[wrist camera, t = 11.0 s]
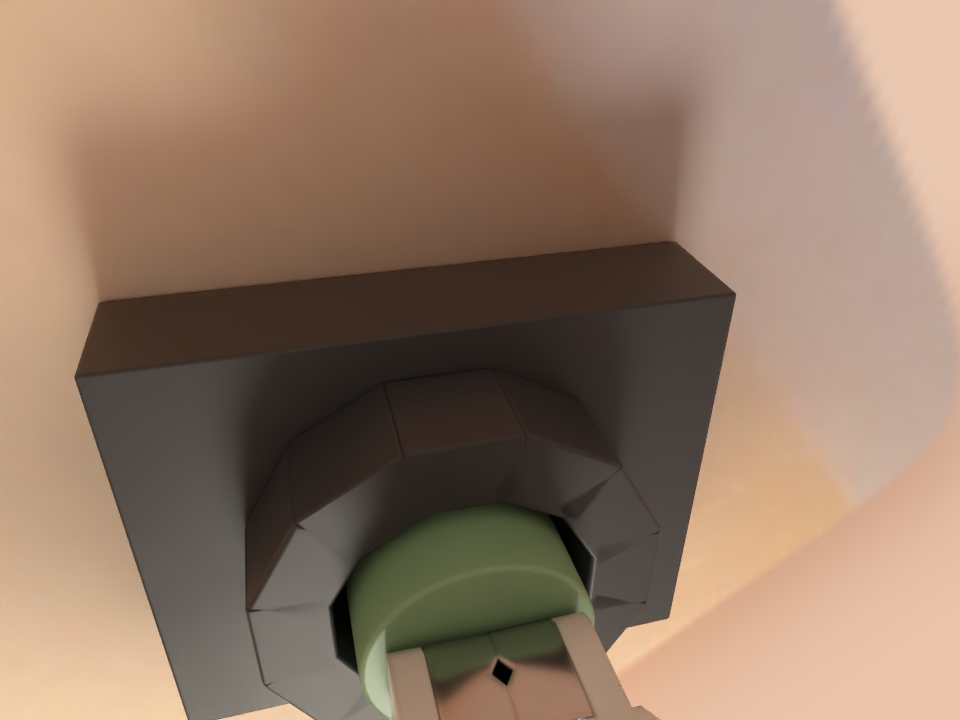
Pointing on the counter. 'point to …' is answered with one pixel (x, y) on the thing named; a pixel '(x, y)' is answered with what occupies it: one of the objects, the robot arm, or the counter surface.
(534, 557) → the button
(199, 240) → the counter surface
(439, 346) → the confirm box
